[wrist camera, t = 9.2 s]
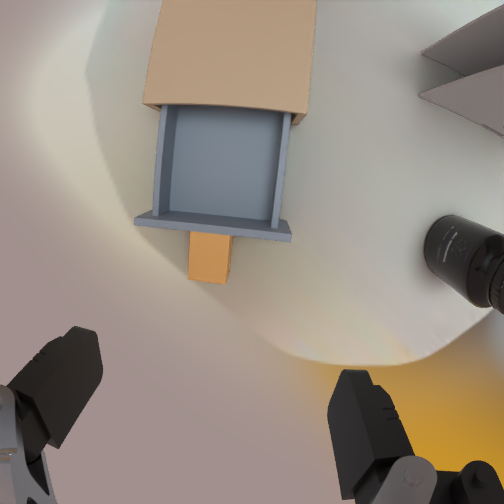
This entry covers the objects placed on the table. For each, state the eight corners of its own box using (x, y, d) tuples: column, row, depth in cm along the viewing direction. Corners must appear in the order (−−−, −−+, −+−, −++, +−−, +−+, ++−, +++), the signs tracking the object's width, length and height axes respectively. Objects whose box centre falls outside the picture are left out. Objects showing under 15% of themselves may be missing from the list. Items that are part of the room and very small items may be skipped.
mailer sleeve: (192, -20, 21) (178, -51, 15) (310, -14, 20) (318, -46, 15) (166, 114, 25) (142, 103, 19) (297, 124, 25) (307, 113, 19)
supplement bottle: (419, 222, 27) (493, 257, 15) (467, 208, 26) (544, 235, 15) (424, 283, 29) (486, 338, 17) (470, 266, 28) (536, 310, 16)
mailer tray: (174, 51, 23) (156, 29, 18) (304, 58, 23) (313, 36, 18) (155, 254, 28) (134, 273, 23) (279, 269, 28) (283, 292, 23)
